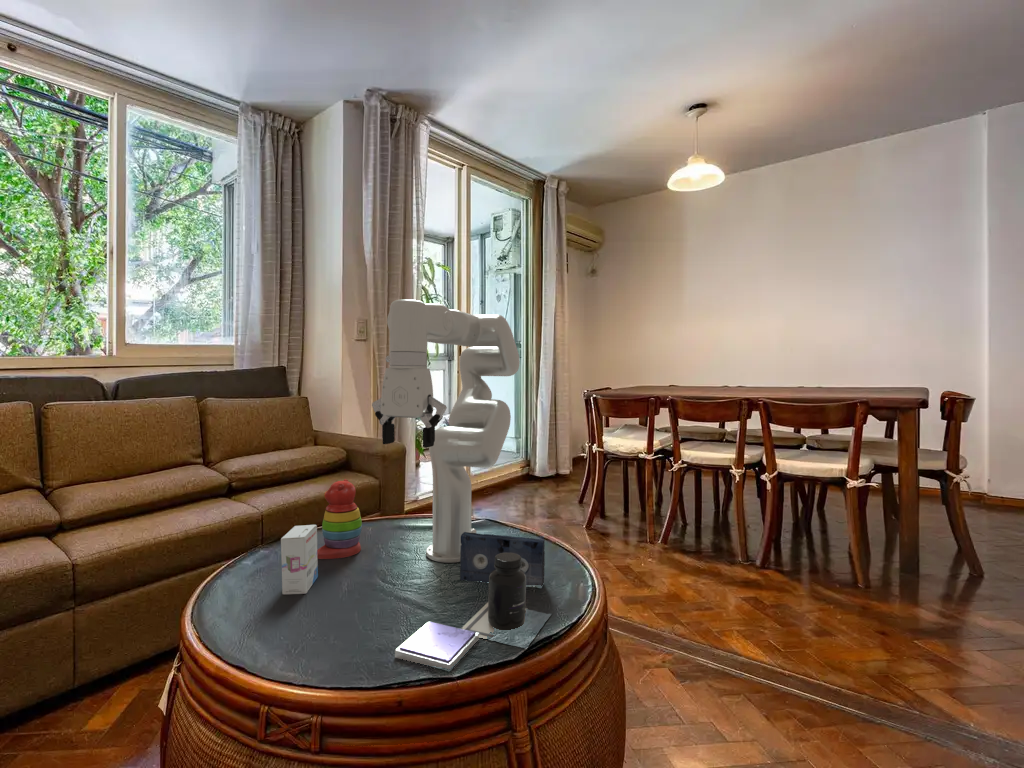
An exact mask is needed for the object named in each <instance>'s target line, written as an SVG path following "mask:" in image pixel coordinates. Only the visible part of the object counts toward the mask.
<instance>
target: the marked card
mask: <svg viewBox="0 0 1024 768" xmlns="http://www.w3.org/2000/svg"><path fill="white" fill-rule="evenodd" d="M460 629H463V630H467V631H472V632H476V633H479V638H483V639H487V636H489V637H493V636H494V635H491V634H489V633H490V632H492V633H493V632H494V628H493V627H492V626H491V625H490V623H489V621H488V602H486V603H485V604H484V605H483V606H482V607H481V608H480V609H479V610H478V611H477V612H476V613H475V614H474V615H473V616H472V617H471V618H470V619H469V620H468V621H467V622H466V623H465V624H464V625H463V626H462V627H461V628H460ZM483 639H482V640H483Z"/></svg>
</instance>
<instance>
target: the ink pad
mask: <svg viewBox="0 0 1024 768" xmlns="http://www.w3.org/2000/svg"><path fill="white" fill-rule="evenodd" d="M478 640H479V641H480V639H479V633H476V632H472V631H467V630H463V629H461V628H458V627H454V626H451V625H447V624H441V623H437V622H432V621H427V622H426V623H425V624H424V625H423V626H422V627H420V628H419V629H417V631H416V632H414V633H413V634H412V635H411V636H409V637H408V638H407V639H406V640H405V641H404V642H403V643H401V644H400V645H399V646H398V647H397V648H396V649H394V658H395V659H399V660H402V659H403V661H406V660H407V661H406V662H410V661H411V662H410V663H413V662H415V663H414V664H417V663H420V664H424V665H429V666H436V667H442V668H447V669H450V668H451V667H452V666H454V664H456V663H457V662H458V661H459V660H460V659H461V657H463V656H464V655H465V653H466V652H467V651H468V650H469V649H470V648H471V647H472V646H473V645H474V644H475V643H476V642H477V641H478ZM479 641H478V642H479ZM478 642H477V643H478ZM477 643H476V644H477ZM476 644H475V645H476ZM475 645H474V646H475ZM465 656H466V655H465ZM465 656H464V657H465ZM420 664H419V665H420ZM424 665H423V666H424Z"/></svg>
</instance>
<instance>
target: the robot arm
mask: <svg viewBox="0 0 1024 768" xmlns="http://www.w3.org/2000/svg"><path fill="white" fill-rule="evenodd" d="M386 322H387V324H386V325H387V327H388V331H389V355H387V356H385V361H386V363H389V367H386V368H385V371H384V375H383V381H382V387H381V397H380V398H378V399H377V400H375V401H373V402H372V403H371V406H372V408H373V411H374V416H375V417H376V418H377V419H378V421H379V424H380V426H381V427H382V428H381V429H382V430H381V431H382V433H381V439H382V445H389V444H394V443H395V423H393V421H394V420H395V419H396V418H403V419H407V418H408V419H418V418H419V419H420V420H421V422H422V423H423V425H424V426H425V427H423V428H422V447H423V448H424V449H425V448H426V449H428V450H429V457H430V463H431V470H432V544H430V545H429V546H428V547H426V549H425V556H426V557H427V559H429V560H431V561H435V562H439V563H446V564H448V563H449V564H451V563H452V564H453V563H460V557H461V555H460V550H461V548H460V547H461V545H462V544H461V535H462V534H463V533H464V532H468V533H478V532H477V529H475V528H472V491H473V490H472V481H471V478H470V475H469V474H468V472H467V470H466V468H480V469H481V468H482V469H485V468H487V469H488V468H491V467H493V466H494V465H495V464H496V463H497V461H498V460H499V457H500V454H501V452H502V449H503V446H504V443H505V442H506V438H507V435H508V433H509V431H510V426H511V420H512V419H511V418H512V417H511V410H510V407H509V405H508V404H507V402H506V401H503V400H501V399H495V398H492V397H493V393H492V390H491V388H490V387H489V385H488V383H487V382H486V381H485V380H484V379H482V377H511V376H514V375H515V374H517V372H518V371H519V369H520V354H519V351H518V347H517V344H516V341H515V337H514V334H513V332H512V329H511V326H510V324H509V322H508V321H507V320H506V318H505V317H504V316H502V315H501V314H472V313H468V312H464V311H461V310H459V309H449V308H448V307H447V306H445V305H443V304H441V303H425V302H424V301H423V300H422V301H421V300H418V299H417V300H416V299H395V300H393V301H392V302H391V303H390V306H389V313H388V314H387V319H386ZM428 343H433V344H441V345H453V346H459V347H460V346H462V347H467V348H465V349H464V350H463V351H462V352H461V353H460V356H459V373H460V374H459V375H460V380H461V381H460V382H461V386H462V387H461V388H462V389H461V391H460V393H459V395H458V397H457V399H456V401H455V403H454V405H453V407H452V409H451V411H450V414H449V417H448V425H449V426H442V427H439V428H437V429H436V427H437V426H438V424H439V423H440V422H441V421H442V419H443V418H444V417H443V416H444V414H445V412H446V410H447V405H446V404H444V403H442V402H441V401H440V400H438V399H436V398H435V397H434V388H433V387H434V386H433V381H432V380H433V378H432V375H431V369H430V368H428ZM434 408H435V409H436V411H435V413H434V415H433V412H434ZM465 467H466V468H465Z"/></svg>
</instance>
